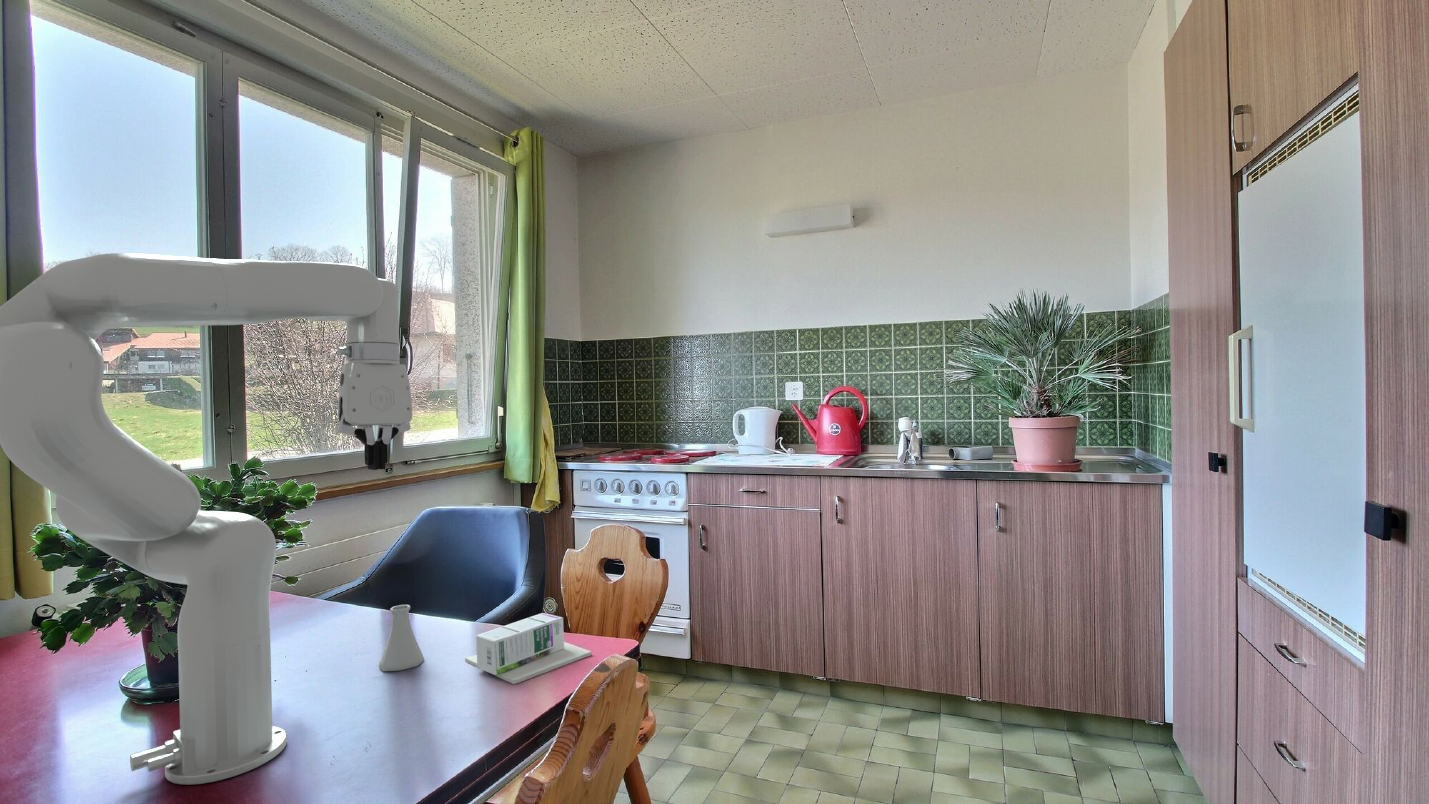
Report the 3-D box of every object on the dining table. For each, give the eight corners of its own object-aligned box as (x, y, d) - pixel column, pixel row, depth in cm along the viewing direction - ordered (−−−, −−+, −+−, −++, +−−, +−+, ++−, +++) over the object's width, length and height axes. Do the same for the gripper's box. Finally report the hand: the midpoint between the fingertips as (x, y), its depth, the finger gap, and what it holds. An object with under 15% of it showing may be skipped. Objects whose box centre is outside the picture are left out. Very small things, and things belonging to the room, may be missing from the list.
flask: (423, 668, 113) (421, 610, 113) (376, 675, 110) (374, 616, 110) (425, 653, 120) (423, 599, 120) (380, 660, 117) (379, 604, 117)
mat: (513, 684, 105) (513, 680, 105) (465, 661, 115) (465, 658, 115) (591, 654, 117) (591, 651, 117) (541, 636, 127) (540, 633, 127)
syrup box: (494, 640, 107) (565, 617, 119) (474, 634, 111) (544, 611, 122) (496, 676, 107) (566, 648, 118) (475, 668, 111) (545, 642, 122)
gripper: (331, 352, 99) (333, 474, 98) (430, 356, 110) (432, 466, 109) (314, 355, 104) (317, 472, 103) (410, 359, 115) (413, 464, 115)
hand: (376, 468), depth 106 cm, fingers closed
